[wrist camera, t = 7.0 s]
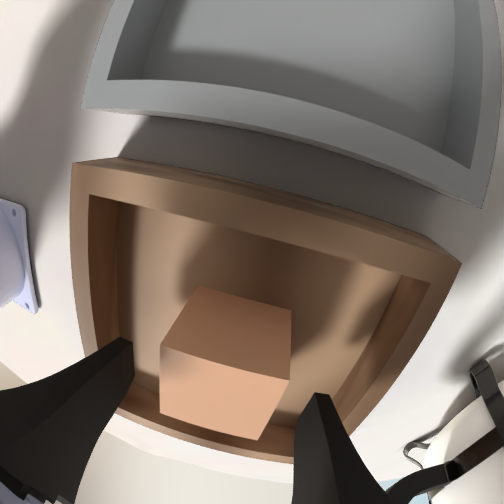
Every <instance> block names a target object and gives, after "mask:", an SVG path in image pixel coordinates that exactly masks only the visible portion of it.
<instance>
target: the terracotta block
mask: <svg viewBox="0 0 504 504" xmlns="http://www.w3.org/2000/svg"><path fill="white" fill-rule="evenodd" d="M290 358H291V310H288V309H284V308H280V307H276V306H272V305H268V304H265V303H261V302H257V301H253V300H249V299H246V298H242V297H238V296H234V295H231V294H227V293H224V292H220V291H216V290H213V289H209V288H206V287H203V286H199V285H198V286H197V288H196V289H195V291H194V292H193V294H192V295H191V297H190V299H189V300H188V302H187V303H186V305H185V306H184V308H183V309H182V311H181V312H180V314H179V316H178V317H177V319H176V320H175V322H174V323H173V325H172V326H171V328H170V330H169V331H168V333H167V334H166V336H165V337H164V339H163V341H162V342H161V344H160V371H159V385H160V413H162V414H164V415H167V416H170V417H173V418H176V419H179V420H182V421H185V422H188V423H191V424H194V425H197V426H201V427H204V428H208V429H211V430H215V431H219V432H222V433H226V434H231V435H235V436H239V437H244V438H248V439H253V440H258V439H259V437H260V435H261V434H262V432H263V430H264V428H265V426H266V425H267V423H268V421H269V419H270V417H271V416H272V414H273V412H274V410H275V408H276V406H277V404H278V403H279V401H280V399H281V397H282V395H283V393H284V391H285V389H286V387H287V385H288V383H289V381H290Z"/></svg>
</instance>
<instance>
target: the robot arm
mask: <svg viewBox="0 0 504 504" xmlns="http://www.w3.org/2000/svg"><path fill="white" fill-rule="evenodd" d="M12 300H13V301H15V302H16V303H17V304H19V305H20V306H22V307H23V308H25V309H26V310H28V311H29V312H31V313H33V314H36V313H37V312H38V305H37V301H36V296H35V291H34V285H33V279H32V273H31V266H30V259H29V250H28V240H27V227H26V212H25V208H24V207H23V206H22V205H20V204H17V203H13V202H10V201H7V200H4V199H1V198H0V309H1V308H2V307H4V306H5V305H6V304H8V303H9V302H11V301H12ZM134 377H135V367H134V353H133V342H131V341H129V340H126V339H124V338H122V337H118V338H116V339H115V340H113V341H112V342H110V343H108V344H107V345H105V346H104V347H102V348H100V349H99V350H97V351H96V352H94V353H92V354H91V355H89V356H87V357H86V358H84V359H82V360H80V361H79V362H77V363H75V364H73V365H71V366H69V367H67V368H65V369H64V370H62V371H60V372H58V373H55V374H53V375H51V376H49V377H46V378H44V379H41V380H39V381H36V382H33V383H30V384H27V385H23V386H20V387H16V388H12V389H7V390H1V391H0V504H44V503H45V501H46V500H48V501H49V502H51V503H52V504H54V503H55V501H56V500H58V501H59V502H61V503H62V504H74V503H75V499H76V495H77V492H78V488H79V485H80V482H81V479H82V476H83V473H84V470H85V468H86V465H87V463H88V460H89V458H90V456H91V453H92V451H93V449H94V447H95V444H96V442H97V440H98V438H99V436H100V435H101V433H102V431H103V430H104V428H105V427H106V425H107V423H108V422H109V420H110V419H111V417H112V416H113V414H114V413H115V411H116V410H117V408H118V406H119V405H120V403H121V402H122V400H123V399H124V397H125V395H126V394H127V392H128V390H129V388H130V385H131V383H132V381H133V379H134ZM292 504H396V503H395V502H394V501H393V500H392V499H391V498H390V496H389V495H388V494H387V493H386V492H385V491H384V490H383V489H382V488H381V487H380V485H379V484H378V483H377V481H376V480H375V479H374V477H373V476H372V475H371V473H370V472H369V470H368V469H367V467H366V466H365V464H364V463H363V461H362V459H361V458H360V456H359V454H358V453H357V451H356V449H355V447H354V445H353V444H352V442H351V440H350V438H349V436H348V434H347V432H346V430H345V428H344V426H343V423H342V421H341V419H340V417H339V415H338V412H337V410H336V408H335V406H334V403H333V401H332V399H331V397H330V395H329V394H323V393H317V392H314V394H313V396H312V397H311V399H310V400H309V402H308V404H307V405H306V407H305V408H304V410H303V411H302V413H301V414H300V416H299V417H298V419H297V422H296V430H295V437H294V481H293V497H292Z"/></svg>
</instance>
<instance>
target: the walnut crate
mask: <svg viewBox="0 0 504 504" xmlns="http://www.w3.org/2000/svg"><path fill="white" fill-rule="evenodd" d="M70 252H71V268H72V279H73V288H74V297H75V304H76V311H77V318H78V324H79V329H80V334H81V340H82V344H83V349H84V354H85V358H86V357H87V356H89V355H91V354H92V353H94V352H96V351H97V350H99V349H100V348H102V347H104V346H105V345H107V344H108V343H110V342H112V341H113V340H115V339H116V338H118V337H122V338H124V339H126V340H129V341H131V342H133V353H134V367H135V377H134V379H133V381H132V383H131V385H130V388H129V390H128V392H127V394H126V395H125V397H124V399H123V400H122V402H121V403H120V405H119V406H118V408H117V410H116V411H115V413H116V414H118V415H120V416H122V417H124V418H127V419H129V420H131V421H133V422H136V423H138V424H140V425H143V426H145V427H148V428H150V429H153V430H155V431H158V432H161V433H163V434H166V435H169V436H172V437H175V438H178V439H181V440H184V441H187V442H190V443H193V444H197V445H200V446H204V447H207V448H211V449H215V450H219V451H223V452H227V453H231V454H236V455H240V456H245V457H250V458H256V459H261V460H267V461H274V462H281V463H289V464H294V437H295V430H296V422H297V419H298V417H299V416H300V414H301V413H302V411H303V410H304V408H305V407H306V405H307V404H308V402H309V400H310V399H311V397H312V396H313V394H314V392H317V393H323V394H329V395H330V397H331V399H332V401H333V403H334V406H335V408H336V410H337V412H338V415H339V417H340V419H341V421H342V423H343V426H344V428H345V430H346V432H347V434H348V436H350V435H351V434H352V433H353V431H354V430H355V429H356V428H357V427H358V426H359V425H360V424H361V423H362V421H363V420H364V419H365V418H366V417H367V416H368V415H369V413H370V412H371V411H372V410H373V409H374V407H375V406H376V405H377V404H378V403H379V401H380V400H381V399H382V398H383V396H384V395H385V394H386V392H387V391H388V390H389V389H390V387H391V386H392V385H393V383H394V382H395V380H396V379H397V378H398V376H399V375H400V374H401V372H402V371H403V369H404V368H405V366H406V365H407V363H408V362H409V360H410V359H411V357H412V356H413V354H414V353H415V351H416V350H417V348H418V347H419V345H420V343H421V342H422V340H423V339H424V337H425V335H426V334H427V332H428V330H429V328H430V327H431V325H432V323H433V321H434V320H435V318H436V316H437V314H438V312H439V310H440V309H441V307H442V305H443V303H444V301H445V299H446V297H447V295H448V293H449V291H450V289H451V287H452V284H453V282H454V280H455V278H456V276H457V274H458V271H459V269H460V267H461V264H462V263H461V262H460V261H458V260H457V259H456V258H455V257H453V256H452V255H451V254H449V253H448V252H447V251H445V250H444V249H443V248H442V247H440V246H439V245H438V244H436V243H435V242H433V241H432V240H431V239H429V238H428V237H426V236H424V235H421V234H418V233H416V232H413V231H410V230H407V229H404V228H402V227H399V226H396V225H393V224H390V223H387V222H384V221H381V220H379V219H376V218H373V217H369V216H366V215H363V214H360V213H357V212H354V211H351V210H348V209H344V208H341V207H338V206H334V205H331V204H328V203H324V202H321V201H317V200H314V199H310V198H307V197H303V196H300V195H296V194H292V193H289V192H285V191H281V190H277V189H273V188H269V187H265V186H261V185H257V184H253V183H249V182H245V181H240V180H236V179H232V178H227V177H223V176H218V175H213V174H209V173H204V172H199V171H194V170H189V169H184V168H179V167H173V166H168V165H162V164H157V163H151V162H145V161H138V160H132V159H125V158H119V157H114V158H105V159H97V160H90V161H83V162H76V163H72V173H71V188H70ZM198 285H199V286H203V287H206V288H209V289H213V290H216V291H220V292H224V293H227V294H231V295H234V296H238V297H242V298H246V299H249V300H253V301H257V302H261V303H265V304H268V305H272V306H276V307H280V308H284V309H288V310H291V358H290V381H289V383H288V385H287V387H286V389H285V391H284V393H283V395H282V397H281V399H280V401H279V403H278V404H277V406H276V408H275V410H274V412H273V414H272V416H271V417H270V419H269V421H268V423H267V425H266V426H265V428H264V430H263V432H262V434H261V435H260V437H259V439H258V440H253V439H248V438H244V437H239V436H235V435H231V434H226V433H222V432H219V431H215V430H211V429H208V428H204V427H201V426H197V425H194V424H191V423H188V422H185V421H182V420H179V419H176V418H173V417H170V416H167V415H164V414H162V413H160V385H159V371H160V344H161V342H162V341H163V339H164V337H165V336H166V334H167V333H168V331H169V330H170V328H171V326H172V325H173V323H174V322H175V320H176V319H177V317H178V316H179V314H180V312H181V311H182V309H183V308H184V306H185V305H186V303H187V302H188V300H189V299H190V297H191V295H192V294H193V292H194V291H195V289H196V288H197V286H198Z"/></svg>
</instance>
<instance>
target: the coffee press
mask: <svg viewBox="0 0 504 504" xmlns="http://www.w3.org/2000/svg"><path fill="white" fill-rule="evenodd" d="M469 374H470V377H471V380H472V383H473V386H474V389H475V392H476V398H477V399H476V400H474V401H473V402H472V403H471V404H469V405H468V406H467V407H466V408H465V409H463V410H462V411H461V412H460V413H459V414H458V415H456V416H455V417H454V418H453V419H452V420H451V421H450V422H449V423H448V424H447V425H446V426H445V427H444V428H443V429H442V430H441V431H440V432H439V434H438V435H437V436H436V437H435V438H434V440H433V441H432V442H431V443H430V444H424V443H420V442H411V443H409V444H407V445H406V446H405V448H404V451H403V453H404V455H405V457H406V458H407V459H408V460H409V461H410V462H412V463H414V464H416V465H418V466H419V467H420V468H421V469H422V470H420V471H417V472H414V473H412V474H410V475H408V476H406V477H404V478H403V479H401V480H399V481H398V482H397V483H395V484H394V485H393V486H391V487H390V488H388V489H387V490H386V491H385V492H386V493H387V494H388V495H389V496H390V498H391V499H392V500H393V501H394V502H395V503H396V504H408V503H409V502H410V501H411V499H412V498H413V497H415V496H417V495H420V494H423V493H426V492H427V494H428V499H429V504H432V503H433V504H504V380H503V381H502V382H500V383H498V384H497V382H496V379H495V377H494V374H493V371H492V369H491V367H490V365H489V363H488V362H487V361H486V360H484V361H482V362H481V363H480V364H478V365H477V366H475V367H474V368H473V369H471V370H470V371H469ZM415 447H419V448H423V449H427V452H426V455H425V460H424V462H425V468H426V469H424V468H423V467H422V465H421V464H420V463H419V462H417V461H416V460H414V459H413V458H411V457H409V456H408V452H409V451H410V450H411V449H412V448H415ZM431 499H432V500H431Z"/></svg>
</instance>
